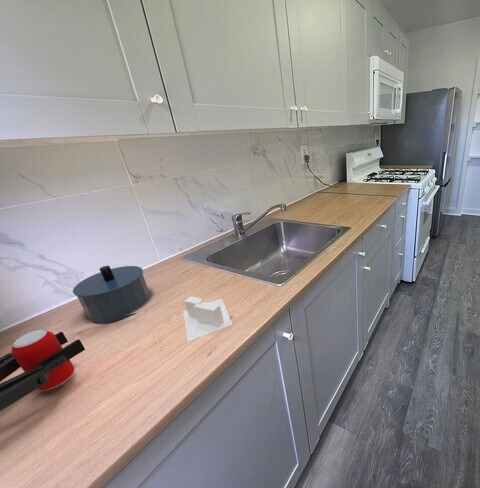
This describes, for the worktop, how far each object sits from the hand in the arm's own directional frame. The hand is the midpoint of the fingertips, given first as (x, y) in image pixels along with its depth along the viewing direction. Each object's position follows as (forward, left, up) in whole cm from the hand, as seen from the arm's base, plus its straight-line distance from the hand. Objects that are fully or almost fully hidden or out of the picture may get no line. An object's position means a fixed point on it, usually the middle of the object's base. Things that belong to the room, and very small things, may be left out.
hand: (72, 340), depth 58 cm
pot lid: (0, +24, +2) cm, 24 cm away
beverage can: (-3, -4, -7) cm, 8 cm away
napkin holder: (+25, +8, -8) cm, 28 cm away
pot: (0, +24, -8) cm, 25 cm away
